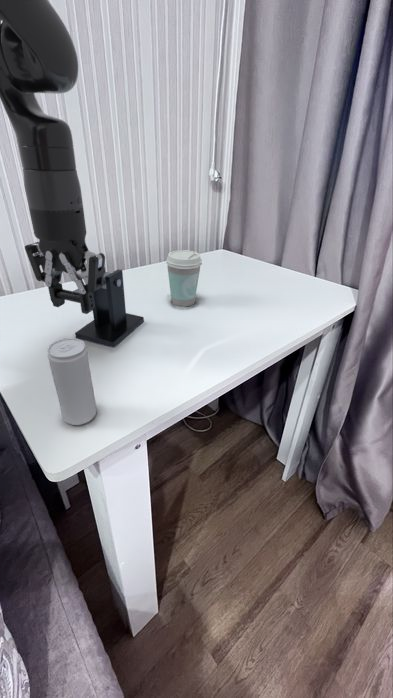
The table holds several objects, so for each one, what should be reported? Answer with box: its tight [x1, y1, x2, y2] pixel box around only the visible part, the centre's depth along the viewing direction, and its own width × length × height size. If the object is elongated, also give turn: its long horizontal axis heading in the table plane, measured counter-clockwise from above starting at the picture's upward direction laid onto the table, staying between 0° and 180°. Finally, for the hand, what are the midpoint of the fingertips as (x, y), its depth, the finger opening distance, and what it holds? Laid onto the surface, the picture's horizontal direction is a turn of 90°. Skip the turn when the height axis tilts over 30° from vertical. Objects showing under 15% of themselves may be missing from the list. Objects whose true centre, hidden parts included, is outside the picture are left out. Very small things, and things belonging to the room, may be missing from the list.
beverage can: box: [47, 337, 98, 426], centre depth 46 cm, size 5×5×12 cm
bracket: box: [74, 266, 145, 348], centre depth 67 cm, size 12×9×13 cm
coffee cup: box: [165, 249, 203, 307], centre depth 80 cm, size 8×8×12 cm
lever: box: [56, 271, 111, 304], centre depth 61 cm, size 12×5×2 cm, turn 159°
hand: (73, 308), depth 58 cm, fingers closed on lever, 5 cm apart
